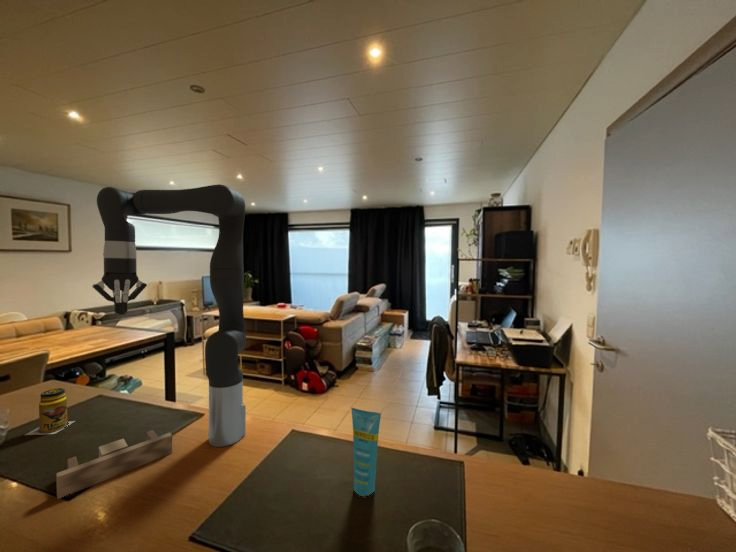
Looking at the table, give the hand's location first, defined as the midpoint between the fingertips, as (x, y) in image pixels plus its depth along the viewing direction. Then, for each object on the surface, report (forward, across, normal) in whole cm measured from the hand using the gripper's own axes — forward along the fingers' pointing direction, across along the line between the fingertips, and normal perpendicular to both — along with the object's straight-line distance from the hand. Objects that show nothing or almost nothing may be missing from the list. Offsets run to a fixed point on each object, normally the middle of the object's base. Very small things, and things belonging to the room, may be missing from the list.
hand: (121, 314), depth 89 cm
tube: (+37, +31, -70) cm, 86 cm away
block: (+37, -5, -15) cm, 40 cm away
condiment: (+37, -14, +21) cm, 45 cm away
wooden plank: (+37, -4, -16) cm, 40 cm away
